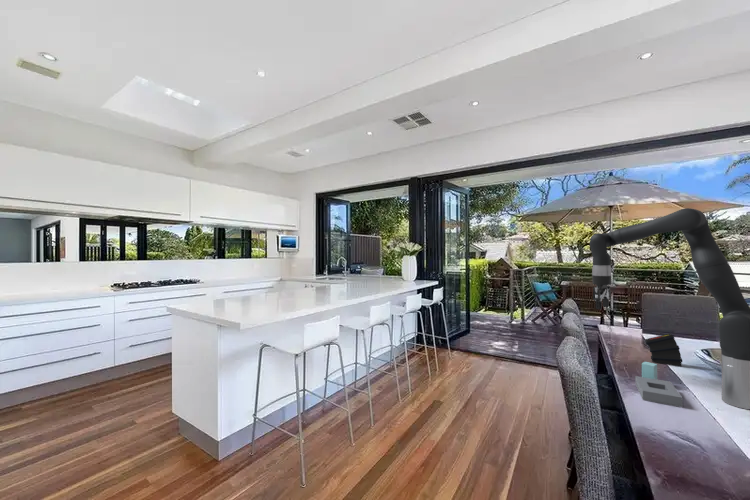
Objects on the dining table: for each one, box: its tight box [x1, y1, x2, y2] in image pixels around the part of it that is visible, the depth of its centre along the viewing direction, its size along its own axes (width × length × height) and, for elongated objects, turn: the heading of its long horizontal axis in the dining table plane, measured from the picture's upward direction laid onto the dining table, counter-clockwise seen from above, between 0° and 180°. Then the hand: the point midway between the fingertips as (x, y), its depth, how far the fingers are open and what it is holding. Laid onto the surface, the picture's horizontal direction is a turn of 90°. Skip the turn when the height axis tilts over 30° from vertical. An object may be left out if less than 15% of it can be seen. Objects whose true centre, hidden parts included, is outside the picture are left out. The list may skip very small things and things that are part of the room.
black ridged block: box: [645, 333, 683, 368], centre depth 156 cm, size 4×13×15 cm, turn 51°
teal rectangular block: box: [641, 361, 658, 380], centre depth 134 cm, size 4×4×8 cm
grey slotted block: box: [635, 375, 683, 408], centre depth 123 cm, size 16×11×4 cm
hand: (602, 308), depth 152 cm, fingers open, 8 cm apart
